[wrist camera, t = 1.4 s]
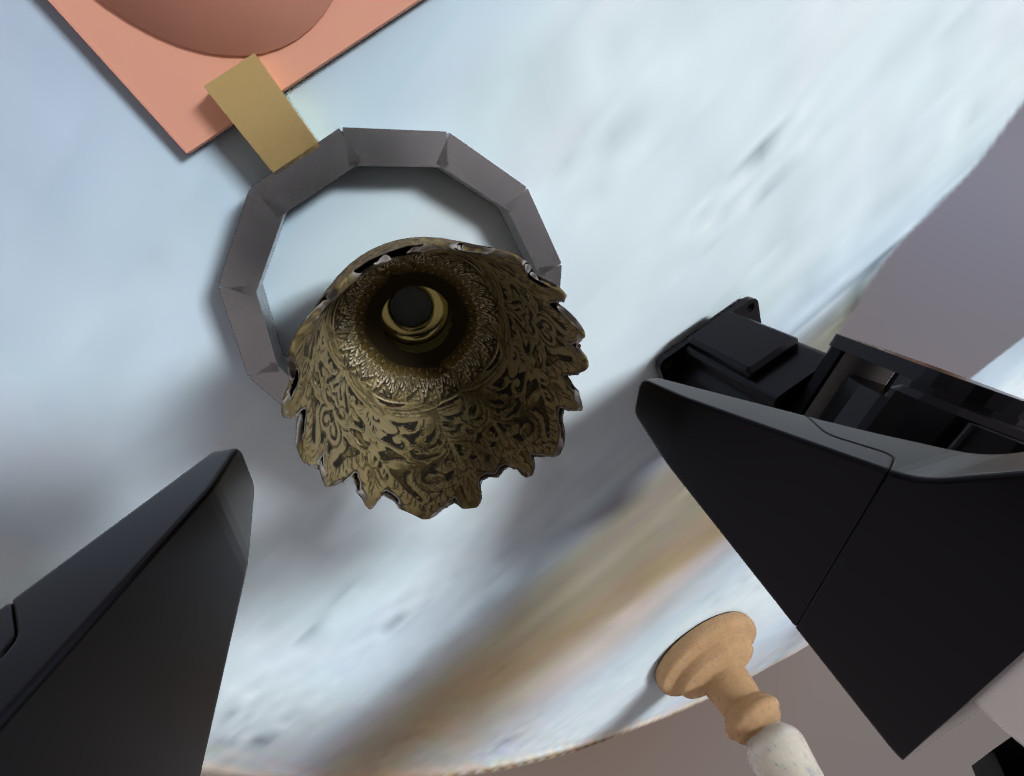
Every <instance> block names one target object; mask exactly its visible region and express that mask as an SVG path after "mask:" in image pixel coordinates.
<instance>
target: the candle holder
mask: <svg viewBox="0 0 1024 776" xmlns="http://www.w3.org/2000/svg"><path fill="white" fill-rule="evenodd" d="M755 637H756V627H755V624H754V622H753V621H752V620H751V619H750V618H749V617H748V616H747V615H746V614H744V613H742V612H728V613H724V614H721V615H718V616H716V617H713V618H711V619H709V620H707V621H705V622H703V623H702V624H700V625H698V626H697V627H695V628H694V629H692V630H691V631H689V632H688V633H687V634H685V635H684V636H683V637H682V638H680V639H679V640H678V641H677V642H676V643H675V644H674V645H673V646H672V647H671V648H670V649H669V650H668V651H667V653H666V654H665V655H664V656H663V658H662V659H661V661H660V663H659V665H658V667H657V669H656V673H655V678H656V681H657V684H658V686H659V688H660V689H661V690H662V691H663V692H664V693H665V694H667V695H670V696H682V695H683V696H684V697H686V698H690V699H694V698H700V697H703V696H705V695H707V696H708V698H709V699H710V700H711V701H712V702H713V704H714V705H715V706H716V707H717V708H718V710H719V711H720V712H721V713H722V715H723V716H724V718H725V726H726V734H727V736H728V737H729V738H730V739H732V740H735V741H737V742H739V743H740V744H743V745H747V749H748V761H749V764H750V766H751V768H752V769H753V771H754V772H755V773H756V774H757V775H758V776H824V774H823V772H822V771H821V769H820V767H819V765H818V763H817V762H816V760H815V758H814V756H813V754H812V752H811V750H810V748H809V746H808V744H807V742H806V740H805V738H804V736H803V735H802V734H801V733H800V731H799V730H797V729H796V728H795V727H793V726H791V725H789V724H786V723H783V722H781V721H780V717H781V714H780V711H779V702H778V700H777V699H776V698H775V697H773V696H770V695H768V694H766V693H764V692H761V691H760V690H759V688H758V687H757V686H756V684H755V682H754V681H753V679H752V678H751V676H750V675H749V673H748V671H747V670H746V668H745V666H746V665H747V664H748V662H749V661H750V659H751V657H752V654H753V646H752V644H753V642H754V640H755Z"/></svg>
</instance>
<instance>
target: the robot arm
mask: <svg viewBox="0 0 1024 776" xmlns="http://www.w3.org/2000/svg"><path fill="white" fill-rule="evenodd" d="M829 345H830V346H831V347H830V348H829V350H828V351H827V353H825V352H822V351H820V350H817V349H815V348H812V347H810V346H807V345H805V344H802V343H800V342H798V339H797V338H796V337H794V336H792V335H789V334H787V333H784V332H782V331H779V330H776V329H774V328H771V327H769V326H766V325H764V324H761V319H760V312H759V304H758V301H757V300H756V299H754V298H752V297H745V298H743V299H742V300H740V301H739V302H737V303H736V304H735V305H733V306H732V307H730V308H729V309H727V310H726V311H724V312H723V313H722V314H720V315H719V316H717V317H716V318H714V319H713V320H711V321H710V322H709V323H707V324H706V325H704V326H703V327H701V328H700V329H698V330H697V331H696V332H694V333H693V334H691V335H690V336H688V337H687V338H685V339H684V340H683V341H681V342H680V343H678V344H677V345H675V346H674V347H672V348H671V349H670V350H668V351H667V352H665V353H664V354H662V355H661V356H660V357H659V358H658V359H657V361H656V369H657V372H658V375H659V377H660V378H652V379H646V380H643V381H642V382H641V384H640V386H639V391H638V396H637V401H636V407H635V412H636V415H637V418H638V419H639V421H640V422H641V424H642V426H643V427H644V429H645V430H646V432H647V433H648V435H649V437H650V438H651V440H652V441H653V443H654V444H655V446H656V448H657V449H658V451H659V452H660V454H661V455H662V457H663V458H664V460H665V461H666V463H667V464H668V465H669V467H670V468H671V469H672V471H673V472H674V473H675V475H676V476H677V477H678V478H679V480H680V481H681V482H682V483H683V485H684V486H685V487H686V488H687V490H688V491H689V492H690V494H691V495H692V496H693V497H694V499H695V500H696V501H697V502H698V504H699V505H700V506H701V507H702V509H703V510H704V511H705V513H706V514H707V515H708V516H709V518H710V519H711V520H712V521H713V523H714V524H715V525H716V527H717V528H718V529H719V530H720V532H721V533H722V534H723V535H724V537H725V538H726V539H727V540H728V542H729V543H730V544H731V546H732V547H733V548H734V549H735V551H736V552H737V553H738V554H739V556H740V557H741V558H742V559H743V561H744V562H745V563H746V565H747V566H748V567H749V568H750V570H751V571H752V572H753V573H754V575H755V576H756V577H757V578H758V580H759V581H760V582H761V584H762V585H763V586H764V587H765V589H766V590H767V591H768V592H769V594H770V595H771V596H772V598H773V599H774V600H775V601H776V603H777V604H778V605H779V606H780V608H781V609H782V610H783V611H784V613H785V614H786V615H787V617H788V618H789V619H790V620H791V622H792V623H793V624H794V625H795V626H796V628H797V630H798V631H799V632H800V634H801V635H802V636H803V637H804V639H805V640H806V641H807V642H808V644H809V645H810V646H811V647H812V649H813V650H814V651H815V652H816V654H817V655H818V656H819V657H820V659H821V660H822V661H823V663H824V664H825V665H826V666H827V668H828V669H829V670H830V672H831V673H832V674H833V675H834V676H835V678H836V679H837V680H838V682H839V683H840V684H841V685H842V687H843V688H844V689H845V691H846V692H847V693H848V694H849V696H850V697H851V698H852V700H853V701H854V702H855V703H856V705H857V706H858V707H859V708H860V710H861V711H862V712H863V714H864V715H865V716H866V717H867V718H868V720H869V721H870V722H871V724H872V725H873V726H874V727H875V729H876V730H877V731H878V733H879V734H880V735H881V736H882V737H883V739H884V740H885V741H886V743H887V744H888V745H889V746H890V747H891V749H892V750H893V751H894V752H895V753H896V754H897V755H898V756H899V757H900V758H901V759H902V760H905V759H906V758H908V757H910V756H911V755H913V754H914V753H916V752H917V751H919V750H920V749H922V748H924V747H925V746H927V745H928V744H930V743H931V742H933V741H934V740H936V739H938V738H939V737H941V736H942V735H944V734H945V733H947V732H948V731H950V730H952V729H953V728H954V727H956V726H958V725H959V724H961V723H962V722H964V721H966V720H967V719H969V718H970V717H972V716H973V715H975V714H976V713H978V712H979V711H981V710H982V711H983V712H984V713H985V714H986V715H987V716H988V717H990V718H991V719H992V720H993V721H994V722H995V723H996V724H998V725H999V726H1000V727H1001V728H1002V729H1003V730H1005V731H1006V732H1007V733H1008V734H1009V735H1010V736H1011V738H1009V739H1008V740H1006V741H1005V742H1003V743H1002V744H1001V745H999V746H998V747H996V748H995V749H993V750H992V751H991V752H989V753H988V754H987V755H985V756H984V757H983V758H982V759H980V760H979V761H978V762H976V763H975V764H974V765H972V768H973V770H974V773H975V776H1024V399H1022V398H1019V397H1016V396H1013V395H1011V394H1008V393H1005V392H1003V391H1000V390H997V389H995V388H992V387H989V386H987V385H984V384H981V383H979V382H976V381H973V380H971V379H968V378H965V377H962V376H960V375H957V374H954V373H952V372H949V371H946V370H943V369H941V368H938V367H935V366H932V365H929V364H926V363H923V362H920V361H918V360H914V359H912V358H908V357H906V356H903V355H900V354H897V353H894V352H892V351H889V350H886V349H882V348H879V347H876V346H873V345H870V344H867V343H863V342H861V341H858V340H854V339H851V338H848V337H845V336H842V335H839V334H835V336H834V338H833V339H832V341H831V342H830V344H829ZM666 362H667V363H666ZM665 363H666V364H665ZM894 372H895V373H894ZM893 373H894V375H893ZM892 375H893V376H892ZM891 376H892V378H891V379H890V377H891ZM889 379H890V380H889ZM888 380H889V382H888V383H887V381H888ZM886 383H887V385H885V384H886ZM253 500H254V485H253V481H252V478H251V476H250V473H249V471H248V468H247V465H246V463H245V460H244V458H243V455H242V453H241V452H240V451H239V450H238V449H229V450H223V451H217V452H213V453H211V454H210V455H208V456H207V457H206V458H204V459H203V460H202V461H200V462H199V463H198V464H196V465H195V466H194V467H192V468H191V469H189V470H188V471H187V472H185V473H184V474H183V475H181V476H180V477H179V478H177V479H176V480H175V481H173V482H172V483H170V484H169V485H168V486H166V487H165V488H164V489H162V490H161V491H160V492H158V493H157V494H156V495H154V496H153V497H152V498H150V499H149V500H147V501H146V502H145V503H143V504H142V505H141V506H139V507H138V508H137V509H135V510H134V511H133V512H131V513H130V514H128V515H127V516H126V517H124V518H123V519H122V520H120V521H119V522H118V523H116V524H115V525H114V526H112V527H111V528H110V529H108V530H107V531H105V532H104V533H103V534H101V535H100V536H99V537H97V538H96V539H95V540H93V541H92V542H91V543H89V544H88V545H86V546H85V547H84V548H82V549H81V550H80V551H78V552H77V553H76V554H74V555H73V556H72V557H70V558H69V559H68V560H66V561H65V562H63V563H62V564H61V565H59V566H58V567H57V568H55V569H54V570H53V571H51V572H50V573H49V574H47V575H46V576H44V577H43V578H42V579H40V580H39V581H38V582H36V583H35V584H34V585H32V586H31V587H30V588H28V589H27V590H26V591H24V592H23V593H21V594H20V595H19V596H17V597H16V598H15V599H14V600H13V604H7V605H5V606H4V607H2V608H1V609H0V776H200V774H201V769H202V765H203V761H204V756H205V752H206V747H207V743H208V738H209V734H210V730H211V725H212V721H213V716H214V712H215V707H216V703H217V699H218V694H219V690H220V685H221V681H222V676H223V672H224V668H225V663H226V659H227V654H228V650H229V645H230V641H231V637H232V632H233V628H234V623H235V619H236V614H237V610H238V606H239V601H240V597H241V592H242V588H243V583H244V579H245V574H246V569H247V564H248V555H249V545H250V534H251V523H252V511H253Z"/></svg>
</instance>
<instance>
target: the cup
mask: <svg viewBox="0 0 1024 776" xmlns="http://www.w3.org/2000/svg"><path fill="white" fill-rule="evenodd" d="M408 287H414V288H418V289H421V290H423V291H424V292H425V293H426V294H427V295H428V296H429V298H430V300H431V303H432V311H431V315H430V317H429V318H428V319H427V321H426V322H424V323H423V324H421V325H419V326H415V327H408V326H404V325H402V324H400V323H399V322H397V321H396V320H395V318H394V317H393V315H392V313H391V301H392V299H393V297H394V295H395V294H396V293H397V292H398V291H400V290H401V289H404V288H408ZM566 297H567V295H566V294H565V292H564V291H563V290H562V289H561V288H560V287H558V286H557V285H556V284H554V283H552V282H550V281H547V280H545V279H543V278H542V277H540V276H539V275H537V274H536V273H535V272H534V271H533V270H532V268H531V265H530V264H529V263H528V262H526V261H525V260H524V259H522V258H521V257H519V256H517V255H515V254H513V253H510V252H508V251H504V250H501V249H496V248H491V247H486V246H479V245H474V244H470V243H466V242H461V241H455V240H449V239H444V238H433V237H414V238H406V239H400V240H396V241H392V242H389V243H386V244H383V245H381V246H378V247H376V248H374V249H371V250H370V251H368V252H366V253H365V254H363V255H361V256H360V257H358V258H357V259H356V260H355V261H353V262H352V263H351V264H349V265H348V266H347V267H346V268H345V269H344V270H343V271H342V272H341V273H340V274H339V275H338V276H337V278H336V279H335V280H334V281H333V283H332V284H331V285H330V286H329V288H328V289H327V290H326V292H325V293H324V294H323V296H322V297H321V299H320V300H319V302H318V303H317V305H316V306H315V308H314V309H313V310H312V311H311V312H310V314H309V315H308V316H307V318H306V319H305V320H304V322H303V323H302V324H301V326H300V327H299V329H298V330H297V332H296V334H295V336H294V338H293V340H292V343H291V346H290V348H289V352H288V357H287V368H288V371H289V382H288V386H287V388H286V390H285V391H284V395H283V398H282V411H281V412H282V415H283V418H287V417H288V418H291V419H294V418H296V417H297V422H296V445H297V449H298V453H299V455H300V457H301V459H302V461H303V462H304V463H307V464H308V465H310V466H311V465H312V464H316V469H319V470H320V473H321V477H322V480H323V483H324V485H325V486H327V487H330V486H334V485H337V484H339V483H341V482H343V483H345V482H346V481H347V480H348V479H350V477H352V478H353V480H354V484H355V486H356V492H357V493H358V494H359V496H360V497H361V498H362V500H363V502H364V504H365V505H366V506H367V507H368V509H372V508H373V507H374V506H375V505H376V503H377V502H378V500H379V499H380V498H381V496H385V497H387V498H389V499H391V500H393V501H394V502H395V503H396V504H397V506H398V508H399V509H401V510H404V511H406V512H408V513H411V514H413V515H415V516H417V517H419V518H421V519H430V518H432V517H434V516H436V515H437V514H438V513H439V512H440V511H442V510H443V509H444V508H447V507H448V506H450V505H452V504H453V503H455V504H457V505H458V506H460V507H461V508H462V509H468V508H476V507H478V506H479V504H480V502H481V500H482V495H481V493H482V491H481V484H480V482H481V480H482V481H483V480H485V479H487V478H488V477H495V478H497V477H499V476H500V475H501V474H502V472H503V471H504V470H506V469H507V467H509V468H512V469H517V470H518V471H519V472H520V473H521V474H522V475H523V476H524V477H526V478H527V477H530V476H532V475H533V473H534V470H535V461H534V457H556V456H558V455H560V453H561V451H562V448H563V446H564V441H565V429H564V424H563V414H564V410H567V411H582V408H583V406H582V401H581V399H580V395H579V391H578V390H577V389H576V388H575V387H574V385H573V384H572V382H571V380H570V379H569V377H568V375H569V376H571V375H579V373H581V372H583V371H585V370H586V369H587V368H588V367H589V364H588V360H587V357H586V355H585V354H584V353H583V352H582V350H581V349H580V347H581V344H579V343H580V342H581V341H582V339H583V338H585V332H584V330H583V328H582V326H581V325H580V323H579V322H578V321H577V320H576V318H575V317H574V316H573V315H572V314H571V313H570V312H569V311H567V310H566V309H565V308H564V307H562V306H561V305H560V304H558V303H557V302H564V301H565V298H566ZM505 468H506V469H505ZM503 469H504V470H503ZM481 483H482V482H481Z"/></svg>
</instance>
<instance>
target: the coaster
mask: <svg viewBox="0 0 1024 776" xmlns="http://www.w3.org/2000/svg"><path fill="white" fill-rule="evenodd" d="M48 1H49V2H50V3H51V4H52V5H53V6H54V7H55V8H56V9H57V11H58V12H59V13H60V14H61V15H62V16H63V17H64V18H65V19H66V21H67V22H68V23H69V24H70V25H71V26H72V27H73V28H74V29H75V31H76V32H77V33H78V34H79V35H80V36H81V37H82V38H83V39H84V41H85V42H86V43H87V44H88V45H89V46H90V47H91V48H92V49H93V50H94V52H95V53H96V54H97V55H98V56H99V57H100V58H101V59H102V60H103V62H104V63H105V64H106V65H107V66H108V67H109V68H110V69H111V70H112V72H113V73H114V74H115V75H116V76H117V77H118V78H119V79H120V80H121V82H122V83H123V84H124V85H125V86H126V87H127V88H128V89H129V90H130V91H131V93H132V94H133V95H134V96H135V97H136V98H137V99H138V100H139V101H140V103H141V104H142V105H143V106H144V107H145V108H146V109H147V110H148V111H149V113H150V114H151V115H152V116H153V117H154V118H155V119H156V120H157V121H158V123H159V124H160V125H161V126H162V127H163V128H164V129H165V130H166V131H167V132H168V134H169V135H170V136H171V137H172V138H173V139H174V140H175V141H176V142H177V144H178V145H179V146H180V147H181V148H182V149H183V150H184V151H185V152H186V154H191V153H193V152H194V151H196V150H197V149H199V148H200V147H202V146H203V145H205V144H206V143H208V142H209V141H211V140H212V139H214V138H215V137H217V136H218V135H220V134H221V133H223V132H224V131H226V130H227V129H229V128H230V127H232V126H233V125H234V124H233V123H232V121H231V120H230V119H229V118H228V116H227V115H226V114H225V113H224V111H223V110H222V109H221V108H220V106H219V105H218V104H217V103H216V102H215V100H214V99H213V98H212V97H211V95H210V94H209V93H208V92H207V90H206V89H205V88H204V87H203V86H205V85H206V84H208V83H209V82H211V81H212V80H214V79H215V78H217V77H218V76H220V75H222V74H223V73H225V72H226V71H228V70H229V69H231V68H232V67H234V66H235V65H237V64H238V63H240V62H241V61H243V60H244V59H246V58H247V57H249V56H250V55H252V54H253V53H255V54H256V55H257V57H258V58H259V59H260V60H261V62H262V63H263V65H264V66H265V67H266V69H267V70H268V72H269V73H270V74H271V76H272V77H273V79H274V80H275V82H276V83H277V84H278V86H279V87H280V89H281V90H282V91H283V92H285V91H286V90H288V89H289V88H291V87H292V86H294V85H295V84H297V83H298V82H300V81H301V80H303V79H304V78H306V77H307V76H309V75H310V74H312V73H313V72H315V71H316V70H318V69H319V68H321V67H322V66H324V65H325V64H327V63H329V62H330V61H332V60H333V59H335V58H336V57H338V56H339V55H341V54H342V53H344V52H345V51H347V50H348V49H350V48H351V47H353V46H354V45H356V44H357V43H359V42H360V41H362V40H363V39H365V38H366V37H368V36H369V35H371V34H372V33H374V32H375V31H377V30H378V29H380V28H381V27H383V26H384V25H386V24H387V23H389V22H390V21H392V20H393V19H395V18H396V17H398V16H400V15H401V14H403V13H404V12H406V11H407V10H409V9H410V8H412V7H413V6H415V5H416V4H418V3H419V2H421V1H422V0H48Z"/></svg>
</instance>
